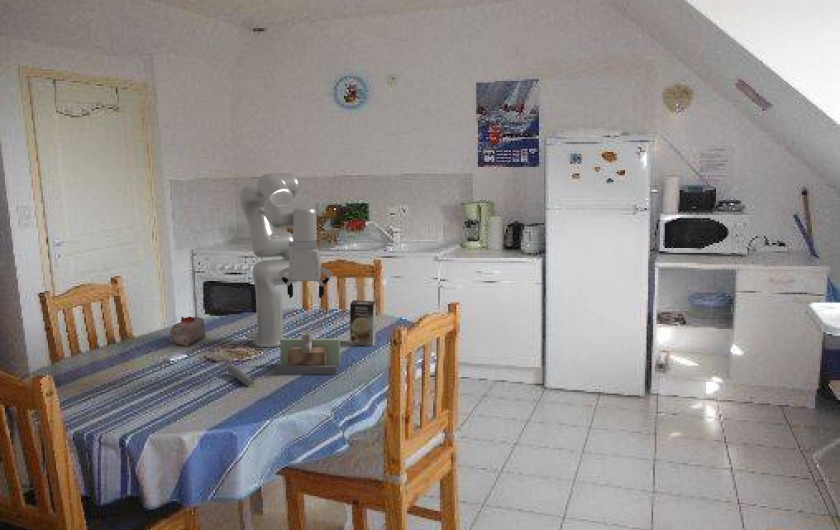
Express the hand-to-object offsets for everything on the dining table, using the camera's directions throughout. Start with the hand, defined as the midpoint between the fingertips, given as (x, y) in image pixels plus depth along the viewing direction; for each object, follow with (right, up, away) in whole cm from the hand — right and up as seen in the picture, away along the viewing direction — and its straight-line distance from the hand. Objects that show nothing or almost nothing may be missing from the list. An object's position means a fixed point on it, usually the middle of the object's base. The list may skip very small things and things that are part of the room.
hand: (305, 297), depth 218 cm
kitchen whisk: (-24, -25, 0) cm, 35 cm away
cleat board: (0, -24, +5) cm, 25 cm away
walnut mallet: (0, -25, +4) cm, 25 cm away
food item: (-51, -19, +35) cm, 65 cm away
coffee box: (+16, -19, +35) cm, 43 cm away
